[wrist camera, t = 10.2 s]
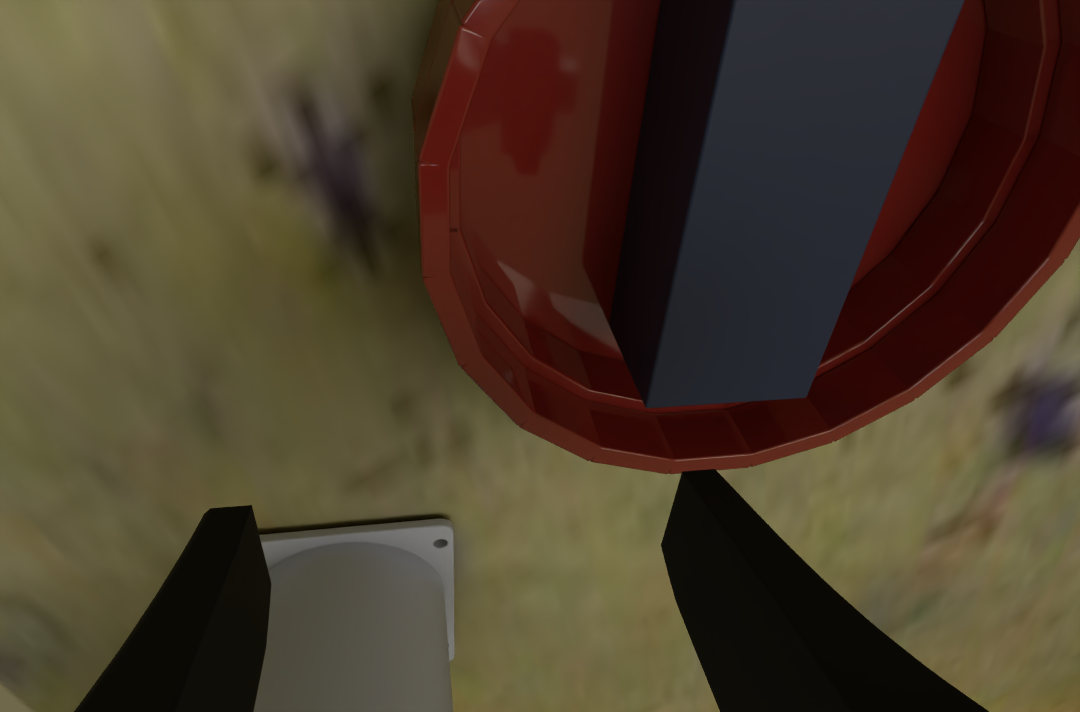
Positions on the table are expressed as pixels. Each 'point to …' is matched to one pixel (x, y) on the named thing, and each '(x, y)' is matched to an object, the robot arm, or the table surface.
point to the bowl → (602, 203)
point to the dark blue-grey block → (762, 185)
